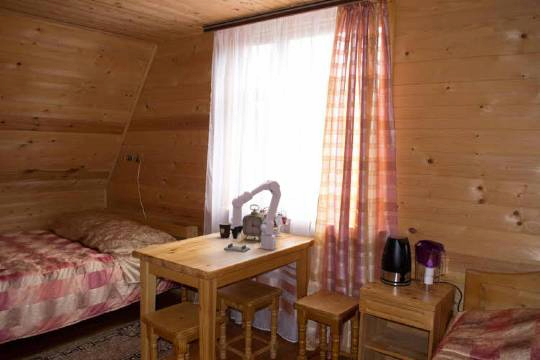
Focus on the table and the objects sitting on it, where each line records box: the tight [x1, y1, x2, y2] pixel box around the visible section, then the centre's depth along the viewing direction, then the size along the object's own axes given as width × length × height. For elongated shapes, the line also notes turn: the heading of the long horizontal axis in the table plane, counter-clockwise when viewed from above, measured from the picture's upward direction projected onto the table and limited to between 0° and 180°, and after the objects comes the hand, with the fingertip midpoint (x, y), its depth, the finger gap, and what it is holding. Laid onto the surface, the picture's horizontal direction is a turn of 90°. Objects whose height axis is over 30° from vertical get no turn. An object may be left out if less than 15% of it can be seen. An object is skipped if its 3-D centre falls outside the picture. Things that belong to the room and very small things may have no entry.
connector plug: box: [230, 232, 242, 242], centre depth 286 cm, size 5×4×5 cm
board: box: [223, 243, 251, 253], centre depth 286 cm, size 14×9×3 cm, turn 69°
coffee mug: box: [218, 221, 232, 239], centre depth 318 cm, size 12×9×10 cm
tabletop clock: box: [241, 204, 266, 242], centre depth 313 cm, size 14×9×25 cm, turn 73°
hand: (236, 238), depth 286 cm, fingers closed on connector plug, 4 cm apart
